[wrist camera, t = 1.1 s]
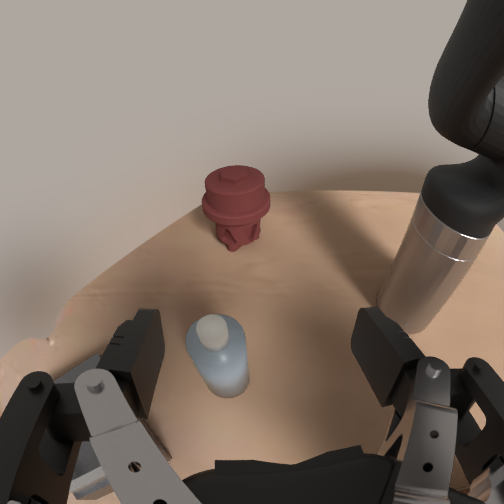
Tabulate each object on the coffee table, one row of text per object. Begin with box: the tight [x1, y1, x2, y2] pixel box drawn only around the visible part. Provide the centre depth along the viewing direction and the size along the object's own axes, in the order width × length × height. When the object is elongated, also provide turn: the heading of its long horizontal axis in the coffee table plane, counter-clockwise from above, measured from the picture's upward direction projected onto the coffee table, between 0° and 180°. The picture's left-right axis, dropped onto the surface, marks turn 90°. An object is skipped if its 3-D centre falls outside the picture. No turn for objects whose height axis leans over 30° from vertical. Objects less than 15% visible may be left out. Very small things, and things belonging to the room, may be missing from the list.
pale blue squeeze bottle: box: [186, 314, 249, 398], centre depth 25 cm, size 5×5×12 cm
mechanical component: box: [202, 165, 270, 251], centre depth 41 cm, size 12×10×10 cm
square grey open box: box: [53, 353, 172, 500], centre depth 21 cm, size 12×14×6 cm
